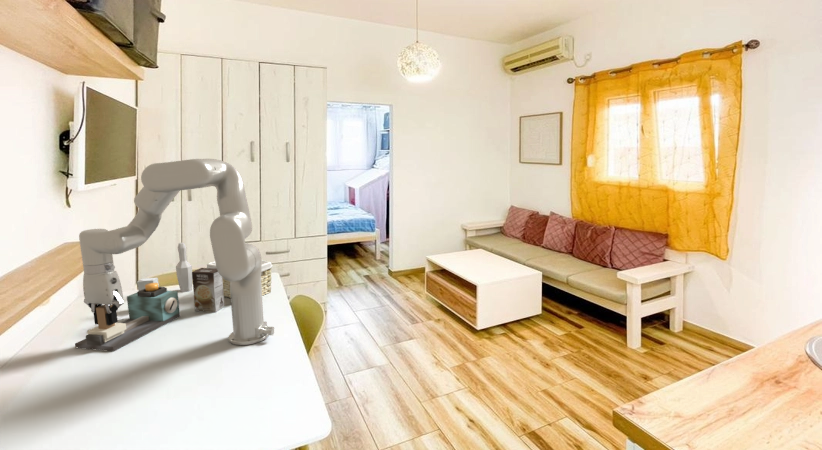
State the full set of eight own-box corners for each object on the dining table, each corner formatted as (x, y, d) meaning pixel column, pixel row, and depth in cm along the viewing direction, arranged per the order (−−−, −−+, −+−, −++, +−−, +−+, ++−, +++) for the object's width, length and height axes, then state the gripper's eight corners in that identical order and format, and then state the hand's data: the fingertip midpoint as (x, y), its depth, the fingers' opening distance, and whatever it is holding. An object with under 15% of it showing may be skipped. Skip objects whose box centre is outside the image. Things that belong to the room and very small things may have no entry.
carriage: (127, 333, 131) (123, 303, 130) (107, 342, 124) (103, 311, 123) (108, 331, 132) (104, 302, 131) (88, 341, 126) (84, 309, 124)
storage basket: (275, 292, 177) (273, 260, 175) (246, 304, 163) (243, 269, 161) (238, 285, 188) (235, 255, 186) (207, 295, 174) (204, 263, 171)
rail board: (182, 316, 150) (179, 287, 148) (116, 351, 123) (111, 315, 121) (147, 314, 152) (144, 285, 150) (75, 347, 125) (70, 313, 123)
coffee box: (194, 311, 155) (190, 271, 152) (204, 305, 161) (200, 267, 159) (216, 312, 154) (212, 272, 152) (225, 306, 160) (222, 268, 158)
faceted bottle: (175, 290, 180) (170, 243, 176) (189, 287, 185) (185, 241, 181) (182, 293, 176) (177, 245, 173) (196, 289, 181) (192, 242, 178)
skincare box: (162, 305, 162) (159, 277, 160) (157, 309, 157) (153, 280, 155) (145, 306, 160) (142, 277, 159) (140, 310, 156) (136, 281, 154)
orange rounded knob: (161, 288, 147) (160, 283, 147) (152, 291, 143) (151, 286, 143) (151, 287, 148) (151, 282, 147) (142, 291, 144) (142, 285, 143)
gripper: (132, 266, 127) (138, 320, 130) (88, 264, 130) (95, 317, 133) (111, 272, 120) (118, 329, 123) (64, 270, 122) (73, 326, 125)
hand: (106, 322), depth 128 cm, fingers open, 3 cm apart
